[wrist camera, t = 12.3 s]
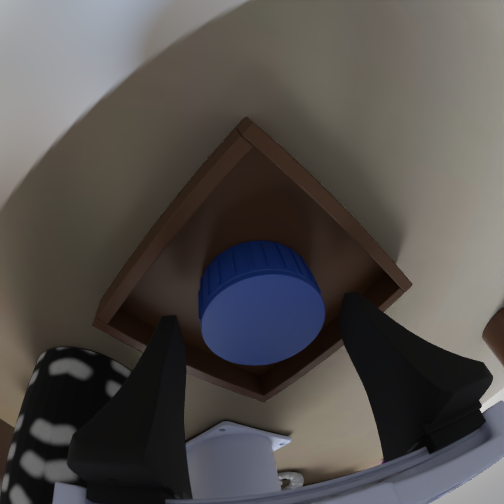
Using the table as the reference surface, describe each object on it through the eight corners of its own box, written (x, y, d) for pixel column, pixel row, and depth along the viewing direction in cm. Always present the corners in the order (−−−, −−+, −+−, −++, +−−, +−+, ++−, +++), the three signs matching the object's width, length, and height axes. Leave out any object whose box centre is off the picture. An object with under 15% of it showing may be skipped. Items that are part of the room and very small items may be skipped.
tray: (259, 379, 19) (263, 402, 18) (100, 300, 14) (91, 325, 13) (396, 265, 16) (413, 285, 14) (245, 115, 11) (252, 121, 9)
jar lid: (312, 232, 14) (333, 264, 11) (306, 320, 16) (320, 356, 14) (190, 245, 13) (188, 281, 11) (206, 333, 16) (209, 372, 14)
